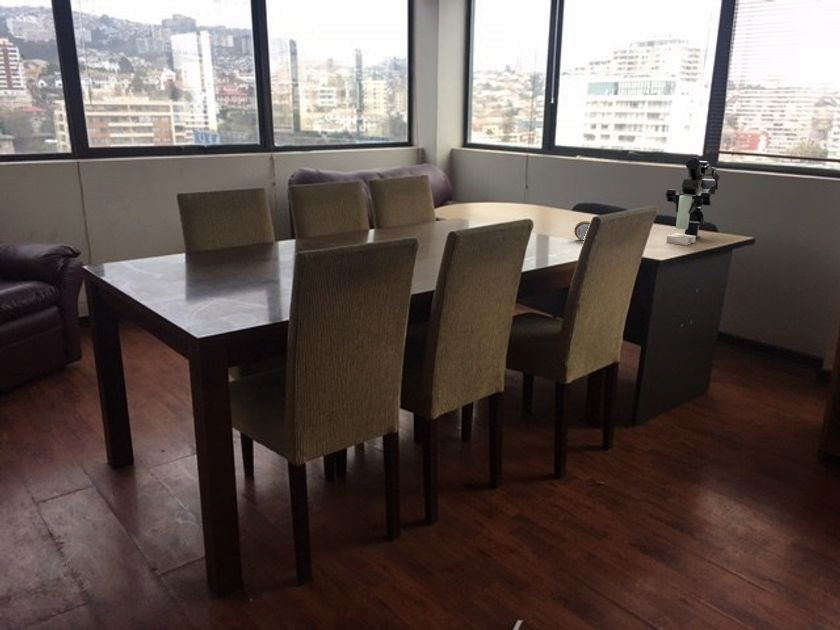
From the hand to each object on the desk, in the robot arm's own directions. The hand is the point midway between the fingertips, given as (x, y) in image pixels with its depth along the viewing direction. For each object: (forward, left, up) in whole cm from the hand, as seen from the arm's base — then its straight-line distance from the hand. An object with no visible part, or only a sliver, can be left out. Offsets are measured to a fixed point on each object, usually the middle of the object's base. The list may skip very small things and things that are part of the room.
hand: (683, 212), depth 298 cm
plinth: (-2, 0, -13) cm, 14 cm away
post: (-1, 0, -7) cm, 7 cm away
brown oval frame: (+26, -28, -14) cm, 41 cm away
